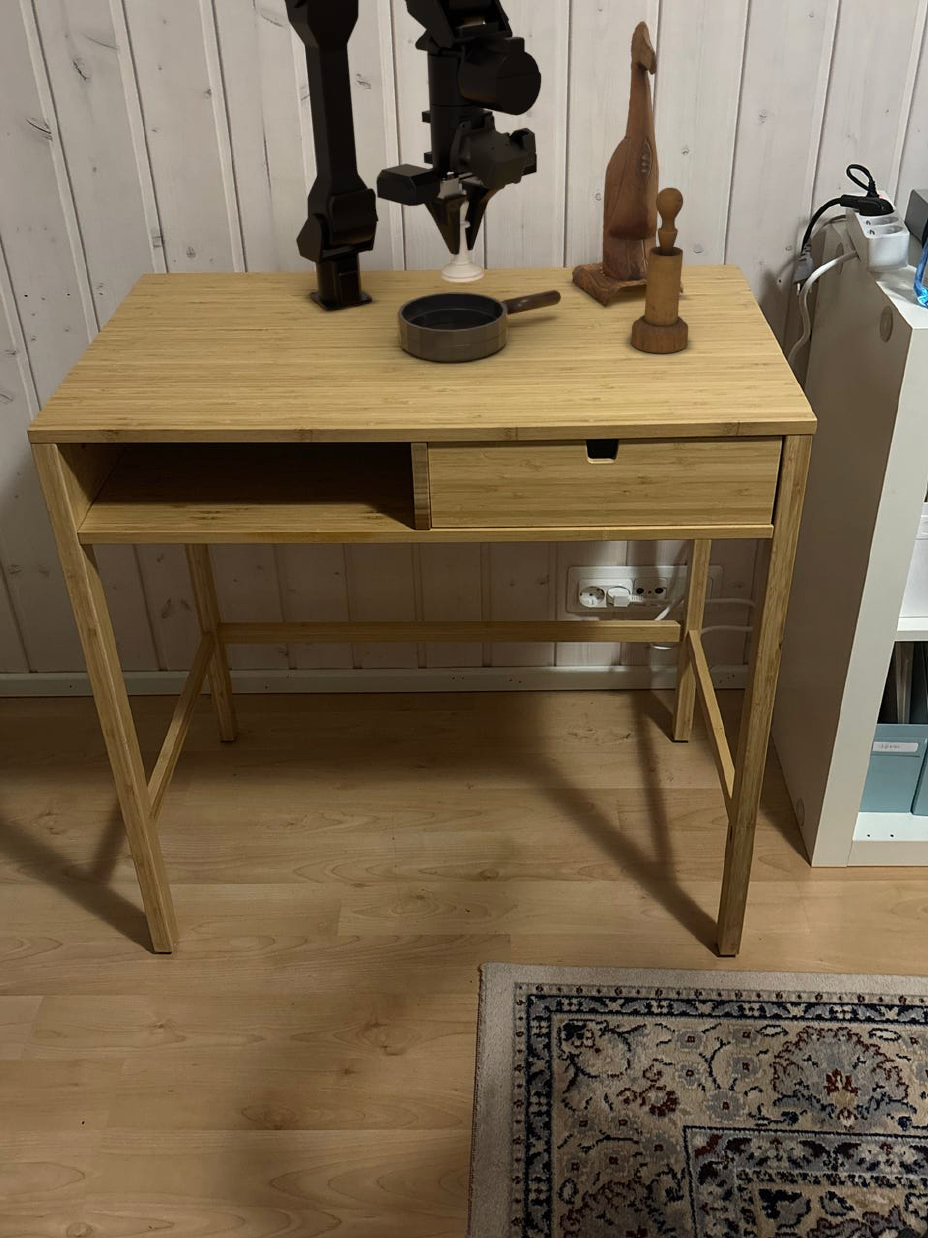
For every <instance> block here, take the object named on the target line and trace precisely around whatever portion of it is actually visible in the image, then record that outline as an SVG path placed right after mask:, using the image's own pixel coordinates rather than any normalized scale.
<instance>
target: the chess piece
mask: <svg viewBox="0 0 928 1238" xmlns="http://www.w3.org/2000/svg"><path fill="white" fill-rule="evenodd" d="M459 193H461V194H465V195H466V190H462V183H459ZM468 205H469V202H468V201H467V200H465V201H464V203H463V204H462V206H461V208H460V250H459V254H458V255H454V254H453V255H454V256H453V258H452V259H451V262H449V263H446V264H445V265H443V266H442V267H441V268H440V275H439V277H440V278H441V279H442V280H443V281H446V282H451V283H470V282H476V281H478V280H480V279H482V278H483V277H484V276H485V272H484V267H483V266H482V265H481V264H479V263H477V262H473V260H472V258H470V255H469V250H468V249H467V242H466V235H465V228H467V227H469V226H470V224H469V222H468V221H466V220H465V216H466V212H467V208H468Z"/></svg>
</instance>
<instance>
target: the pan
mask: <svg viewBox="0 0 928 1238" xmlns="http://www.w3.org/2000/svg"><path fill="white" fill-rule="evenodd" d="M501 301H502V300H499V299H497V298H495V297H493V296H490V295H486V294H482V293H474V292H467V291H465V292H463V291H450V292H436V293H432V294H425V295H421V296H418V297H416V298H413V299H410V300H407V302H405V303H404V304H402V305H401V306H400V307H399V309H398V310H397V328H398V329H397V330H398V342H399V345H400V347H401V348H402V349H404V350H405V351H406V352H408V353H409V354H411V355H412V356H415V357H417V358H420V359H423V360H427V361H433V362H443V363H457V362H459V363H461V362H468V361H474V360H479V359H482V358H485V357H488V356H490V355H493V354H494V353H495V352H497V351H499V350H500V349H501V348H503V347H504V346H505V345H506V344H507V340H508V337H509V334H508V333H509V331H508V328H509V327H508V324H509V318H508V316H509V315H508V309H507V308H506V306H505V304H504V303H502V302H501ZM494 304H495V305H496V306H498V307H499V312H498V314H499V315H498V314H496V313H495V312H494ZM496 306H495V307H496Z"/></svg>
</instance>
